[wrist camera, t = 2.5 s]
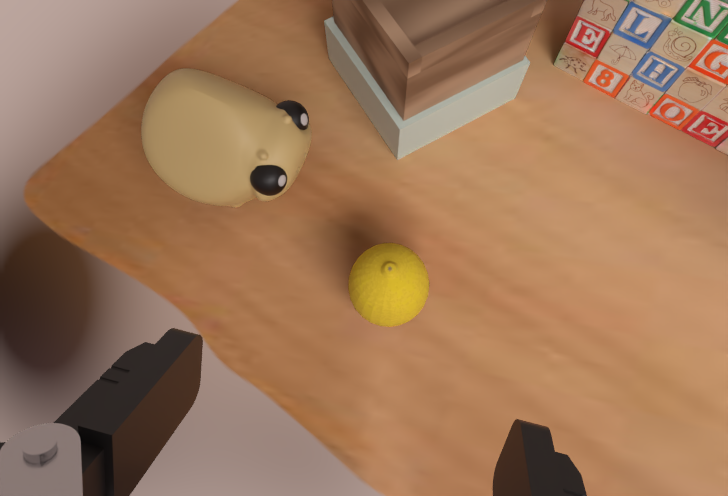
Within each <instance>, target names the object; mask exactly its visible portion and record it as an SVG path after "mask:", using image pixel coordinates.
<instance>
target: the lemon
mask: <svg viewBox="0 0 728 496" xmlns="http://www.w3.org/2000/svg"><path fill="white" fill-rule="evenodd" d="M348 290H349V294H350V299H351V301H352V303H353V305H354V307H355V309H356V310H357V311H358V313H359V314H360V315H361V316H362V317H363V318H365V319H366V320H368V321H369V322H371V323H374V324H376V325H379V326H387V327H392V326H398V325H401V324H404V323H406V322H408V321H410V320H411V319H412V318H414V317H415V316H416V315H417V314H418V313H419V312H420V310H421V309H422V308H423V306H424V304H425V302H426V299H427V297H428V291H429V279H428V273H427V270H426V268H425V266H424V263H423V262H422V261H421V259H420V258H419V257H418V255H417V254H415V253H414V252H413V251H412V250H410V249H409V248H407V247H405V246H403V245H400V244H395V243H382V244H379V245H375V246H373V247H371V248H369V249H368V250H366V251H365V252H364V253H362V254H361V255H360V256H359V257H358V259H357V260H356V262H355V263H354V265H353V267H352V269H351V272H350V276H349V284H348Z"/></svg>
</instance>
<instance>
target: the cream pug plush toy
mask: <svg viewBox="0 0 728 496" xmlns="http://www.w3.org/2000/svg"><path fill="white" fill-rule="evenodd" d="M141 139H142V145H143V149H144V153H145V155H146V158H147V160H148V162H149V164H150V165H151V167H152V168H153V170H154V171H155V173H156V174H157V175H158V176H159V177H160V178H161V179H162V180H163V181H164V182H165V183H166V184H167V185H168V186H169V187H171V188H172V189H173V190H175V191H176V192H178V193H180V194H181V195H183V196H185V197H187V198H189V199H192V200H194V201H197V202H201V203H204V204H209V205H216V206H231V207H234V208H238V207H240V206H242V205H243V203H246V202H249V201H251V200H253V199H255V198H257V199H258V200H260V201H271V200H274V199H276V198H278V197H279V196H281V195H282V194H284V193H285V192H286V191H287V190H288V189H289V188H290V187H291V185H292V184H293V182H294V181H295V179H296V178H297V176H298V174H299V172H300V170H301V168H302V166H303V164H304V162H305V159H306V157H307V154H308V151H309V148H310V144H311V139H312V131H311V127H310V124H309V117H308V113H307V111H306V110H305V108H304V107H303V106H302V105H301V104H300V103H298V102H295V101H290V100H288V101H283V102H281V103H279V104H276V103H275V102H274V101H272V100H271V99H269V98H267V97H265V96H263V95H262V94H259V93H257V92H255V91H253V90H251V89H249V88H246V87H244V86H242V85H239V84H237V83H235V82H232V81H230V80H227V79H225V78H222V77H220V76H217V75H214V74H211V73H208V72H205V71H201V70H197V69H189V68H185V69H178V70H175V71H173V72H171V73H169V74H168V75H167V76H166V77H164V78H163V79H162V80H161V81H160V83H159V84H158V85H157V86H156V88H155V89H154V91H153V92H152V94H151V96H150V98H149V100H148V102H147V104H146V107H145V110H144V114H143V118H142V125H141Z"/></svg>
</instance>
